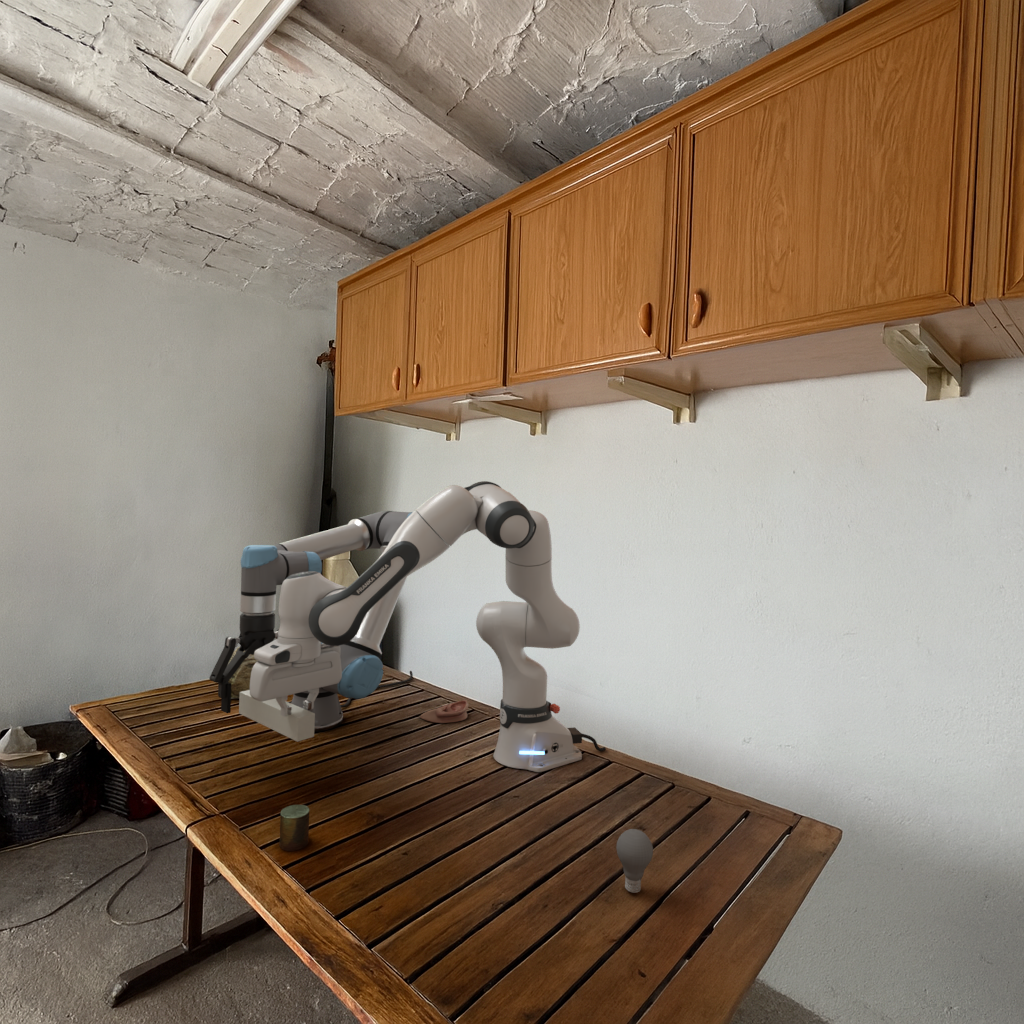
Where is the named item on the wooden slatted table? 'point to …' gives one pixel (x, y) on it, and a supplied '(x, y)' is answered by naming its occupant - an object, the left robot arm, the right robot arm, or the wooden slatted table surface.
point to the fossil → (242, 676)
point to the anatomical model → (447, 713)
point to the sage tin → (294, 827)
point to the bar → (278, 717)
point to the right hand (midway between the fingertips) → (297, 712)
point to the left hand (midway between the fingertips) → (254, 704)
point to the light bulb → (634, 857)
